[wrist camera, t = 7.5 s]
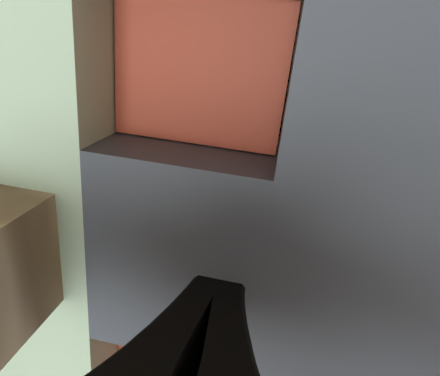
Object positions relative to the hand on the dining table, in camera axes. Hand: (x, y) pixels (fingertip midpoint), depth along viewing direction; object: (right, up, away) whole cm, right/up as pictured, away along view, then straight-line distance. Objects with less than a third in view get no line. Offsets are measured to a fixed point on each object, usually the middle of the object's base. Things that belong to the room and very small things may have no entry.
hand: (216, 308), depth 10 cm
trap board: (0, +2, +3) cm, 4 cm away
